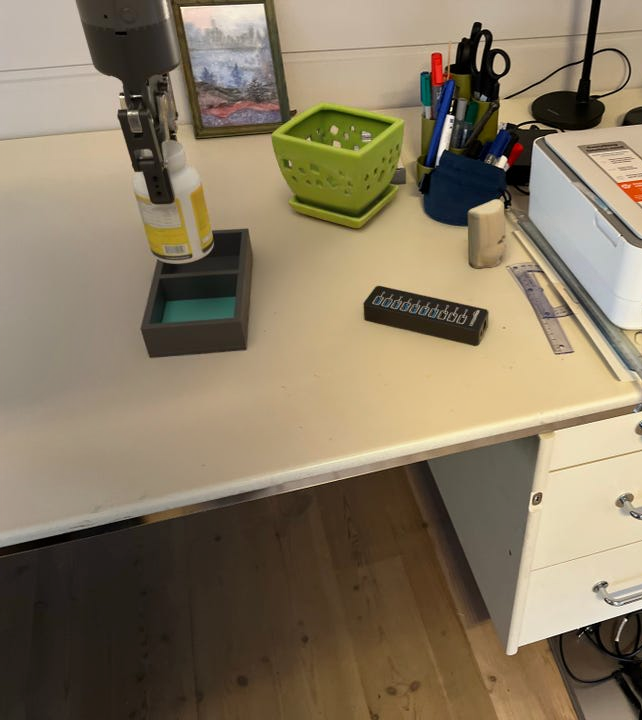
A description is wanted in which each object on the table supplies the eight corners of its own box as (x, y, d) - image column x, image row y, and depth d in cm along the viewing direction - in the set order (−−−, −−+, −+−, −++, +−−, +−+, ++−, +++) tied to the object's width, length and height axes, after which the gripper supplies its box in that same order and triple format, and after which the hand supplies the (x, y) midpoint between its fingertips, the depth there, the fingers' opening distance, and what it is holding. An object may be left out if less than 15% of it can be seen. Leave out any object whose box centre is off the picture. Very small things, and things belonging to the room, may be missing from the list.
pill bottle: (208, 230, 84) (187, 131, 77) (220, 259, 80) (199, 157, 73) (147, 241, 82) (119, 140, 75) (156, 272, 78) (127, 167, 70)
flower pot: (364, 241, 104) (359, 155, 96) (278, 218, 107) (265, 133, 99) (409, 197, 114) (407, 116, 106) (328, 178, 117) (321, 98, 109)
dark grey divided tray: (246, 350, 85) (240, 321, 82) (149, 358, 83) (140, 328, 80) (252, 255, 100) (248, 228, 97) (170, 260, 98) (163, 232, 95)
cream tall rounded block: (471, 245, 104) (473, 193, 99) (508, 250, 104) (512, 198, 99) (463, 267, 100) (465, 214, 95) (502, 272, 99) (506, 219, 94)
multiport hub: (377, 299, 93) (376, 284, 92) (488, 324, 91) (489, 309, 89) (362, 319, 90) (361, 304, 89) (477, 346, 87) (478, 330, 86)
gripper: (96, -11, 70) (139, 156, 81) (60, 37, 59) (116, 223, 70) (180, -11, 71) (212, 153, 82) (160, 36, 61) (200, 219, 71)
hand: (167, 185), depth 76 cm, fingers closed on pill bottle, 6 cm apart
